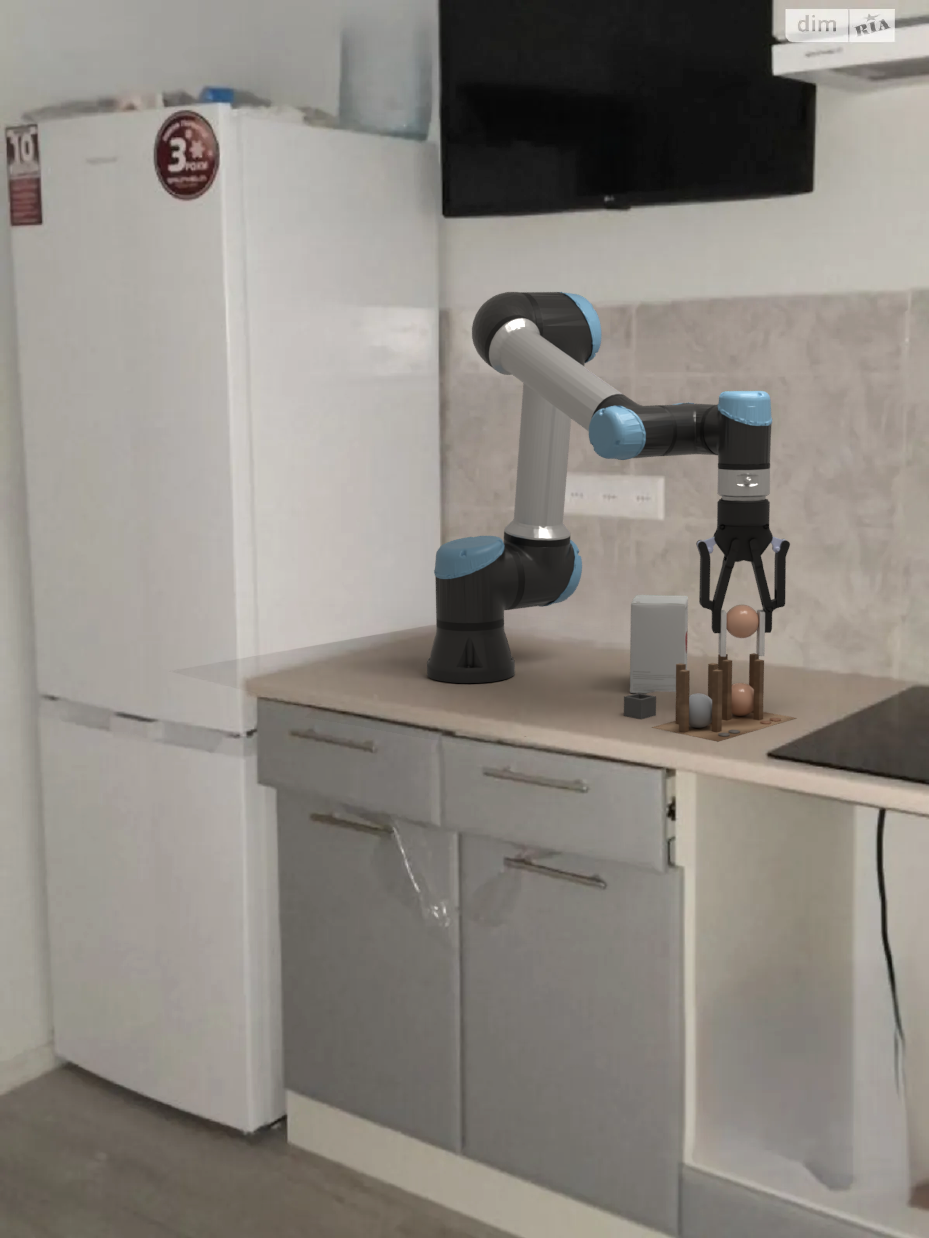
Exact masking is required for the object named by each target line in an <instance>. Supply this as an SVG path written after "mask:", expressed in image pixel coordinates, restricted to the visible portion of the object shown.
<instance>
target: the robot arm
mask: <svg viewBox="0 0 929 1238" xmlns="http://www.w3.org/2000/svg"><path fill="white" fill-rule="evenodd" d="M602 336H603V335H602V326H601V321H600V317H599V315H598V313H597V310H595V309H594V306H593V304H592V303H591V302H590V301H589V299H587V298H586V297H584V296H582V295H580V294H577V293H570V292H563V291H528V292H527V291H526V292H525V291H524V292H519V291H506V292H501V293H498V294H496V295H494V296H492V297H490V298H488V299H487V300H486V301H485V302H483V304H482V305H481V306H480V307H479V309H478V310H477V312H476V313H475V315H474V318H473V321H472V326H471V339H472V343H473V346H474V349H475V350H476V352H477V354H478V356H479V357H480V358H481V359H482V361H484V363H486V365H488V366H489V367H491V368H492V369H493V370H495V371H496V372H498V373H499V374H500V375H501V374H502V375H504V376H505V375H506V376H511V375H512V376H514V377H515V378H516V379H517V380H519V381H520V382H521V383H523V384H522V398H521V409H520V410H521V411H520V413H521V414H520V423H519V424H520V425H519V438H518V452H517V453H518V454H517V455H518V456H517V468H516V469H517V470H516V482H515V493H514V495H515V497H514V511H513V520H512V521H510V522H509V523H508V524H507V525H506V526H504V530H503V538H501V537H500V536H496V535H478V536H469V537H466V536H465V537H462V538H458V539H453V540H450V541H448V542H446V543H443V544H441V545H440V547H439V548H437V551H436V554H435V561H434V562H435V564H434V570H433V573H434V576H435V615H436V616H435V617H436V619H435V621H436V625H435V626H436V628H435V629H436V631H435V636H434V639H433V643H432V646H431V652H430V656H429V657H428V658H427V662H426V674H427V675H426V676H427V677H428V678H430V679H431V680H435V681H439V682H444V683H457V684H458V683H459V684H480V683H482V684H483V683H492V682H498V681H499V682H500V681H503V680H506V679H510V678H512V677H514V676H515V673H516V671H515V669H516V668H515V667H516V666H515V665H516V664H515V659H514V657H513V656H512V652H511V648H510V645H509V642H508V637H507V634H506V630H505V611H510V610H511V611H512V610H517V609H525V608H534V607H538V608H539V607H549V606H551V605H554V604H559V603H563V602H564V601H566V600H568V598H569V597H571V596H572V595H573V594H574V593H575V592H576V590H577V589H578V586H579V584H580V581H581V579H582V573H583V561H582V560H583V559H582V556H581V555H580V549H579V546H578V545H577V544H576V543H575V542H574V541H573V539H571V534H572V532H571V531H570V530H569V528H568V527H567V526H566V525H565V523H564V513H565V500H566V490H567V489H566V487H567V476H568V475H567V474H568V463H569V462H568V461H569V452H570V451H569V450H570V439H571V438H570V437H571V426H572V420H573V421H574V422H575V423H577V424H578V425H579V426H580V427H581V428H583V429H585V430H586V431H587V432H588V440H589V443H590V445H591V446H592V447H593V451H594V452H595V454H596V455H598V456H599V457H601V458H603V459H607V460H620V461H624V460H625V461H626V460H631V459H641V458H642V459H643V458H653V457H655V458H656V457H672V456H673V457H674V456H687V455H703V456H704V455H709V456H711V455H712V456H717V460H718V461H717V462H718V463H717V495H719V496H720V497H721V498H720V499H719V498H718V499H719V500H718V501H717V502H716V504H717V505H716V506H717V507H716V508H717V509H716V510H717V511H716V512H717V516H716V521H717V522H716V530H715V532H714V534H713V536H712V537H709V538H706V539H698V540H697V541H696V543H695V544H696V549H697V551H698V554H699V556H700V557H699V591H698V592H699V597H698V599H699V604H700V606H701V608H703V609H707V610H710V612H711V631H712V633H714V634H718V654H719V655H720V656H721V657H726V654H727V629H726V623H727V612H726V611H725V609H723V606H724V605H723V604H724V602H725V598H726V594H727V591H728V587H729V584H730V580H731V577H732V572H733V569H734V567H735V563H739V562H740V563H741V562H742V561H744V562H748V563H751V566H752V570H753V575H754V578H755V584H756V587H757V591H758V594H759V598H760V602H761V603H760V604H761V607H762V609H756V613H757V614H758V617H759V626H758V629H757V630H756V642H755V643H756V646H755V647H756V648H755V649H756V651H755V652H756V653H755V654H758V655H759V657H765V649H766V648H765V642H766V639H765V638H766V637H765V636H766V634H767V633H768V634H769V633H772V629H773V612H774V611H775V610H776V609H779V608H783V607H785V605H786V577H787V575H786V574H787V573H786V569H787V567H786V566H787V564H786V563H787V562H786V559H787V554H788V552H789V549H790V546H791V543H790V542H789V540H787V539H785V538H779V537H776V536H773V533H772V531H771V530H770V529H771V528H770V511H771V510H770V507H771V506H770V504H771V502H770V501H769V498H767V496H770V494H771V441H772V439H771V438H772V437H771V436H772V424H773V418H772V405H771V404H772V402H771V396H770V394H769V393H768V392H767V391H764V390H729V391H728V390H727V391H722V392H721V393H720V394H719V396H718V403H717V404H713V403H712V404H711V403H709V404H708V403H694V402H679V403H672V404H662V405H661V404H660V405H658V404H656V405H653V404H652V405H642V404H638V403H637V402H635V401H634V400H632V399H631V398H629V397H628V396H626V395H624V394H623V393H622V392H621V391H619V390H618V389H616V387H613V386H612V385H611V384H609V383H608V382H607V381H605V380H603V379H602V377H599V376H598V375H596V374H595V373H594V372H593V371H591V370H589V369H588V368H587V367H585V365H586V364H588V363H589V362H590V361H592V360H593V359H594V358H595V357H596V354H597V353H598V352H599V350H600V348H601V343H602ZM770 544H771V545H772V547H771V549H772V551H773V552H774V579H773V580H774V581H773V582H774V583H773V587H774V588H773V589H774V593H773V595H774V596H773V597H774V598H773V599H772V598H771V593H770V589H769V586H768V581H767V577H766V573H765V569H764V564H763V563H764V562H763V559H762V555H763V554H764V552H765V551H766V550H767V548H768V547H769V546H770ZM715 545H717V547H718V548H719V550H720V551H721V553H722V554H723V559H722V564H721V569H720V571H719V576H718V579H717V584H716V587H715V590H714V594H713V597H712V600H711V598H710V597H711V554H712V553H713V552H714V546H715Z"/></svg>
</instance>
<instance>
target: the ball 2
mask: <svg viewBox="0 0 929 1238" xmlns="http://www.w3.org/2000/svg"><path fill="white" fill-rule="evenodd" d="M753 710H754V689H753V688H752V687H751V686H750V685H749V683H744V682H736V683H732V707H731V714H733V715H736V716H745V715H748V714H750V713H751V712H752V711H753Z"/></svg>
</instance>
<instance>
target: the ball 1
mask: <svg viewBox="0 0 929 1238" xmlns="http://www.w3.org/2000/svg"><path fill="white" fill-rule="evenodd" d="M711 722H712V699H711V698H710V697H708V694H707V695H706V694H705V693H701V692H698V693H697V692H696V693H693V694H689V725H690V726H692V727H695V728H703V727H706V726H708V725H709V724H710V723H711Z"/></svg>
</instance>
